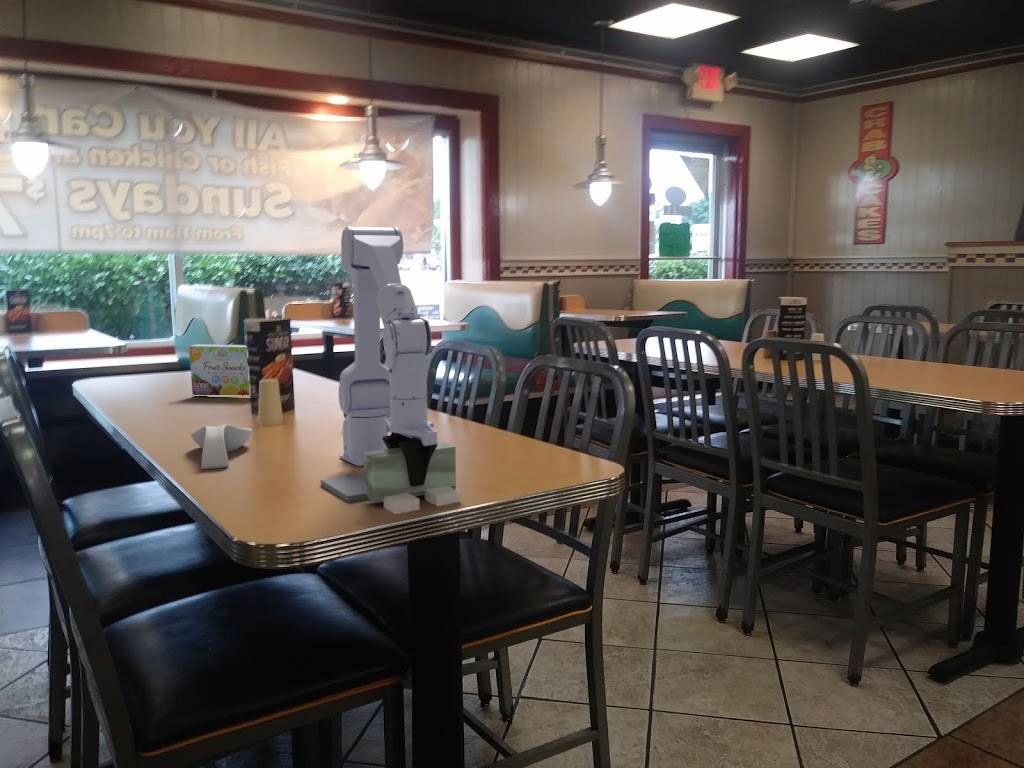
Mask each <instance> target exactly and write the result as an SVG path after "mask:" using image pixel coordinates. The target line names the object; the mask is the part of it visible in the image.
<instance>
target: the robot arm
mask: <svg viewBox="0 0 1024 768" xmlns="http://www.w3.org/2000/svg"><path fill="white" fill-rule="evenodd" d="M340 239H341V240H340V243H341V244H340V245H341V246H340V248H341V249H340V252H341V254H340V256H341V266H342V271H343V272H345V273H348V274H351V278H352V282H353V283H352V285H353V321H354V322H353V325H354V329H353V331H354V333H353V335H354V361H353V362H352V363H351V364H350V365H348V366H347V367H346V368H344V369H343V370H342V371H341V372H340V375H339V385H338V403H339V407H340V410H341V411H342V412H344V413H345V414H348V415H347V417H346V418H344V420H343V423H342V440H343V443H342V444H343V453H341V454H339V455H338V457H339V458H340V459H342V460H343V461H344V460H345V461H347V462H348V463H351V464H353V465H355V466H357V467H364V466H363V453H364V452H371V451H379V450H386V449H394V448H401V449H402V451H403V454H404V456H405V460H406V464H407V470H408V478H409V483H410V486H412V487H415V486H421V485H424V483H425V479H426V474H427V470H428V466H429V462H430V459H431V457H432V455H433V453H434V451H435V449H436V447H437V443H438V432H437V431H436V430H434V427H435V422H434V421H428V387H427V386H428V385H427V383H428V381H427V379H428V378H427V356H429V355H430V352H431V349H432V348H431V347H432V331H431V326H430V323H429V320H428V319H427V317H424V316H423V314H419V312H418V309H417V305H416V303H415V300H414V297H413V294H412V292H411V289H410V288H409V287H408V286H407V285H404V284H402V280H401V276H400V271H399V266H398V265H399V264H400V263H401V260H402V258H403V254H404V239H403V233H402V232H401V230H400V229H399V228H398V227H397V226H393V227H362V226H361V227H359V226H357V227H356V226H355V227H354V226H345V228H344V229H343V230H342V232H341V237H340ZM381 321H382V324H383V330H382V331H383V333H382V336H383V337H382V341H383V348H384V353H385V363H386V365H384V364H383V363H382V362H381ZM387 414H390V418H387ZM389 432H391V433H390V434H389Z"/></svg>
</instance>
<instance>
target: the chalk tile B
mask: <svg viewBox="0 0 1024 768" xmlns="http://www.w3.org/2000/svg"><path fill="white" fill-rule="evenodd" d="M424 500H425V501H426V502H428V503H430V504H432V505H433V506H436V507H440V506H445V505H451V504H455V503H456V504H457V503H460V502H461V491H459V490H458V489H453V488H451V487H449V486H443V487H437V488H431V489H425V495H424Z"/></svg>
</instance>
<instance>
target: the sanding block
mask: <svg viewBox="0 0 1024 768" xmlns="http://www.w3.org/2000/svg"><path fill="white" fill-rule="evenodd" d="M456 447H457V446H455V445H453V444H451V443H448V442H445V441H441V442H437V447H436V449H435V451H434V453H433V455H432V457H431V459H430V462H429V466H428V470H427V474H426V479H425V483H424V485H421V486H415V487H412V486H410V483H409V478H408V470H407V464H406V460H405V456H404V454H403V451H402V449H401V448H394V449H386V450H379V451H371V452H364V453H363V466H362V467H363V473H364V497H366V498H367V499H366V500H369V501H370V502H372V503H373V504H378V503H384V497H386V496H392V495H397V494H403V493H409V494H411V495H413V496H415V497H417V496H425V489H431V488H437V487H443V486H449V487H451V488H453V489H456V488H457V477H456V476H457V475H456V474H457V473H456V471H457V470H456V467H457V464H456V461H457V460H456V458H457V457H456V452H457V450H456ZM456 490H457V489H456Z"/></svg>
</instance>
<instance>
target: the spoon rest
mask: <svg viewBox="0 0 1024 768" xmlns="http://www.w3.org/2000/svg"><path fill="white" fill-rule="evenodd" d="M252 434H253V429H252V428H248V427H238V426H237V427H236V426H233V425H232V424H227V423H225V424H222V425H218V426H210V425H205V426H203V427H201V428H199V429H197V430H196V431H194V432H191V433H190V437H191V439H192V440H193V441H194V443H195V444H196V445H198V446H199V447H201V448H202V455H201V464H200V465H201V469H202V470H210V469H223V468H228V467H229V466H230V463H229V457H228V453H229V452H233V450H234V451H237V450H239V448H241V447H242V446H243V445H244V446H245V444H246V443H247V442H248V441H249V439H250V438H251V435H252Z"/></svg>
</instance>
